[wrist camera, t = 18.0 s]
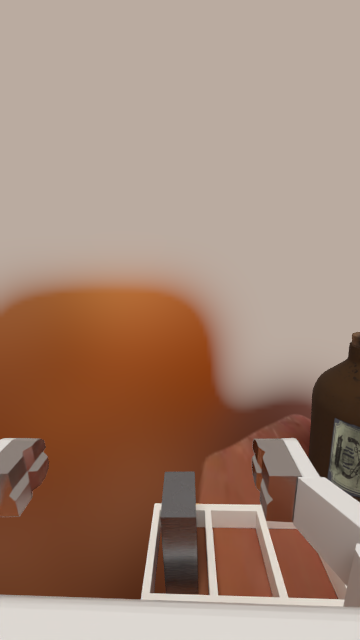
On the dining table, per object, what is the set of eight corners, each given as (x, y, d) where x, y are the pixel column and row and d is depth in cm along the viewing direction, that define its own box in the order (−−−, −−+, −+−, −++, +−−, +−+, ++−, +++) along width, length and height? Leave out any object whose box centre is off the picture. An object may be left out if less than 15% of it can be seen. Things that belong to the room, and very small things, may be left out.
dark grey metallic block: (196, 540, 30) (194, 471, 27) (198, 594, 25) (196, 517, 22) (169, 539, 30) (164, 471, 27) (166, 593, 25) (160, 517, 22)
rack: (309, 520, 32) (311, 503, 31) (361, 633, 22) (367, 612, 21) (156, 517, 33) (155, 501, 32) (142, 624, 23) (140, 604, 22)
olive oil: (297, 454, 42) (311, 323, 36) (366, 467, 39) (394, 326, 33) (311, 513, 32) (334, 346, 26) (404, 536, 29) (454, 354, 23)
